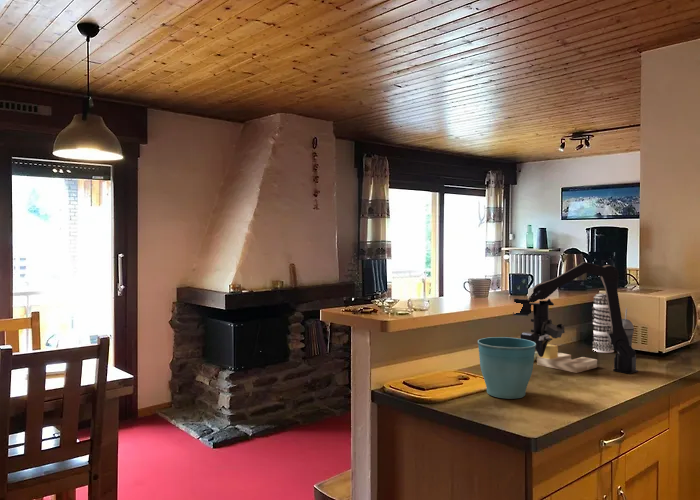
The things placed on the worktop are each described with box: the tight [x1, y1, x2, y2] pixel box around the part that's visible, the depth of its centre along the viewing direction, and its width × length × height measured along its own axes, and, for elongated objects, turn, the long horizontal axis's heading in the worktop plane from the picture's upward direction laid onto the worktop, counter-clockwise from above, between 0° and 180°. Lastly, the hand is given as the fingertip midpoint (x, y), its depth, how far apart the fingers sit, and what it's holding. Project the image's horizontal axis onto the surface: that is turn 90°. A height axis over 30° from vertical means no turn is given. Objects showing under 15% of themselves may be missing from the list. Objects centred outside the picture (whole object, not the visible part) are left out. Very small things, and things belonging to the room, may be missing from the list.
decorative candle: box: [591, 292, 615, 354], centre depth 246 cm, size 9×9×25 cm
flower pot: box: [477, 336, 536, 400], centre depth 180 cm, size 18×18×17 cm
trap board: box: [534, 348, 598, 374], centre depth 223 cm, size 27×14×6 cm, turn 36°
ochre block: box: [539, 343, 559, 359], centre depth 221 cm, size 5×5×4 cm
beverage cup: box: [622, 307, 635, 348], centre depth 235 cm, size 7×7×20 cm
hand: (541, 356), depth 218 cm, fingers closed
